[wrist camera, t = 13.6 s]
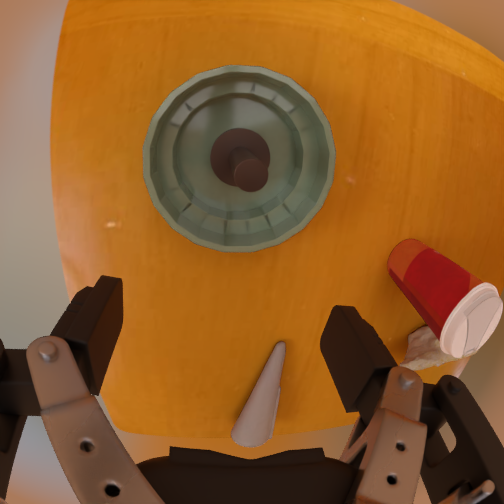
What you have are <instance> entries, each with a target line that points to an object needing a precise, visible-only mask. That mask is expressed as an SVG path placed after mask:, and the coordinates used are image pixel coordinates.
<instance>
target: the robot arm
mask: <svg viewBox="0 0 504 504" xmlns="http://www.w3.org/2000/svg"><path fill="white" fill-rule="evenodd" d="M122 324H123V283H122V279H121V278H116V277H110V276H104V275H102V276H101V277H100V278H99V280H98V281H97V283H96V284H95V286H94V287H88V286H87V287H85V288H84V289H82V290H81V291H79V292H77V293H76V295H75V296H74V298H73V299H72V301H71V303H70V304H69V305H68V307H67V309H66V311H65V312H64V313H63V315H62V316H61V318H60V319H59V321H58V323H57V324H56V326H55V328H54V329H53V331H52V332H51V334H50V336H43V337H40V338H38V339H36V340H34V341H33V342H32V343H31V344H30V345H29V346H28V348H27V349H5V348H4V345H3V342H2V340H1V339H0V504H7V502H6V501H5V498H6V493H7V488H8V484H9V479H10V475H11V471H12V466H13V463H14V459H15V455H16V452H17V448H18V444H19V441H20V438H21V435H22V431H23V428H24V425H25V422H26V419H27V416H41V417H42V420H43V423H44V426H45V429H46V431H47V434H48V436H49V439H50V441H51V444H52V446H53V448H54V451H55V453H56V456H57V458H58V460H59V462H60V464H61V467H62V469H63V471H64V473H65V475H66V477H67V479H68V481H69V483H70V485H71V487H72V489H73V491H74V493H75V494H76V496H77V498H78V500H79V502H80V503H81V504H413V501H414V497H415V493H416V489H417V484H418V480H419V475H421V477H422V480H423V482H424V485H425V487H426V490H427V493H428V495H429V498H430V501H431V503H432V504H504V448H503V446H502V444H501V442H500V440H499V438H498V437H497V435H496V433H495V432H494V430H493V428H492V427H491V425H490V423H489V422H488V420H487V418H486V417H485V415H484V413H483V412H482V410H481V409H480V407H479V406H478V404H477V402H476V401H475V399H474V398H473V396H472V395H471V393H470V392H469V390H468V389H467V387H466V386H465V384H464V383H463V382H462V381H461V380H459V379H458V378H456V377H454V376H452V375H444V376H442V377H441V378H440V380H439V381H438V383H437V384H436V385H434V384H427V383H423V382H422V379H421V378H420V376H419V375H418V374H417V373H416V372H414V371H413V370H411V369H409V368H407V367H403V366H398V365H397V363H396V362H395V360H394V359H393V357H392V355H391V354H390V352H389V351H388V349H387V348H386V346H385V345H384V344H383V342H382V340H381V339H380V337H378V334H377V333H376V331H375V330H374V328H373V327H372V326H371V325H370V324H369V323H367V322H366V321H365V320H364V319H362V318H361V316H360V315H359V313H358V312H357V310H356V309H355V307H353V306H340V305H336V306H334V307H333V309H332V311H331V314H330V316H329V319H328V321H327V324H326V326H325V328H324V331H323V333H322V336H321V340H320V349H321V352H322V354H323V357H324V359H325V362H326V364H327V366H328V369H329V371H330V374H331V376H332V378H333V381H334V383H335V386H336V388H337V390H338V393H339V395H340V398H341V400H342V403H343V405H344V408H345V410H346V413H349V412H358V411H359V413H360V416H359V417H358V418H357V420H356V422H355V425H354V427H353V430H352V432H351V434H350V437H349V439H348V442H347V444H346V446H345V448H344V451H343V453H342V455H341V457H340V459H339V460H337V459H333V458H328V457H325V455H324V451H323V448H312V449H301V450H288V451H284V452H281V453H277V454H273V455H270V456H266V457H262V458H258V459H244V458H240V457H235V456H231V455H227V454H223V453H219V452H215V451H211V450H201V449H190V448H180V447H171V446H170V453H169V456H163V457H157V458H152V459H149V460H146V461H143V462H141V463H139V464H135V463H134V461H133V460H132V459H131V457H130V455H129V454H128V452H127V451H126V449H125V448H124V446H123V444H122V443H121V441H120V440H119V438H118V436H117V435H116V433H115V431H114V430H113V428H112V426H111V425H110V423H109V421H108V420H107V418H106V416H105V414H104V412H103V410H102V408H101V407H100V405H99V403H98V401H97V399H96V398H95V396H94V395H97V396H99V393H100V389H101V386H102V383H103V380H104V377H105V374H106V371H107V368H108V365H109V362H110V359H111V356H112V354H113V351H114V348H115V345H116V342H117V340H118V337H119V334H120V332H121V328H122ZM91 394H92V395H91ZM446 422H448V424H449V426H450V427H451V429H452V431H453V433H454V435H455V437H456V446H455V448H454V450H453V451H452V452H451V453H449V451H448V449H447V447H446V445H445V443H444V440H443V438H442V436H441V434H440V432H439V429H440V428H441V427H442V426H443V425H444V424H445V423H446Z"/></svg>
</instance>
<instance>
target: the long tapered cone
mask: <svg viewBox="0 0 504 504" xmlns="http://www.w3.org/2000/svg"><path fill="white" fill-rule="evenodd" d="M285 352H286V348H285V343H284V342H282V341H281V342H279V343H277V345H276V346H275V348H274V350H273V352H272V354H271V356H270V358H269V359H268V361H267V363H266V365H265V367H264V369H263V371H262V373H261V375H260V377H259V379H258V381H257V383H256V385H255V387H254V389H253V391H252V393H251V395H250V397H249V399H248V401H247V403H246V405H245V406H244V408H243V410H242V412H241V414H240V416H239V418H238V419H237V421H236V423H235V425H234V427H233V429H232V431H231V437H232V439H233V440H234V441H235V442H236V443H237V444H239V445H241V446H244V447H257V446H260V445H262V444H264V443H265V442H266V441H267V440H268V439H271V438H272V434H273V429H274V424H275V418H276V413H277V407H278V402H279V396H280V390H281V387H280V379H281V374H282V368H283V362H284V358H285Z"/></svg>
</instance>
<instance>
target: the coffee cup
mask: <svg viewBox="0 0 504 504" xmlns="http://www.w3.org/2000/svg"><path fill="white" fill-rule="evenodd" d="M387 267H388V272H389V274H390V276H391V278H392V279H393V280H394V282H395V283H396V284H397V286H398V287H399V288H400V289H401V291H402V292H403V293H404V295H405V296H406V297H407V298H408V300H409V301H410V302H411V304H412V305H413V306H414V308H415V309H416V310H417V312H418V313H419V314H420V315H421V317H422V318H423V319H424V321H425V322H426V323H427V325H428V326H429V328H430V329H431V330H432V332H433V333H434V334H435V336H436V337H437V339H438V340H439V341H440V342H439V343H440V348H441V350H442V351H443V352H444V353H446V354H450V355H452V356H453V357H455V358H461V357H462V355H464V356H466V355H468V354H470V353H472V352H473V350H478V349H479V348H480V347H481V346H482V345H483V344H484V343H485V342H486V341H487V340H488V338H489V337H490V336H491V334H492V333H493V331H494V330H495V328H496V326H497V324H498V322H499V320H500V317H501V314H502V309H503V304H502V300H501V299H500V297H499V295H498V291H497V289H496V287H495V286H494V285H492V284H489V283H487V282H485V283H484V282H482V281H481V280H479V279H478V278H477V277H475V276H474V275H472V274H471V273H469V272H468V271H466V270H465V269H463V268H462V267H460V266H459V265H457V264H456V263H454V262H453V261H451V260H450V259H448V258H446V257H445V256H443V255H442V254H440V253H438V252H437V251H435V250H434V249H432V248H430V247H429V246H427V245H425V244H423V243H422V242H420V241H418V240H415V239H407V240H404V241H402V242H401V243H399V244H398V245H397V246H396V247H395V248H394V249H393V251H392V252H391V254H390V256H389V259H388V265H387Z"/></svg>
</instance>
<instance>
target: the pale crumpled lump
mask: <svg viewBox="0 0 504 504" xmlns="http://www.w3.org/2000/svg"><path fill="white" fill-rule="evenodd" d="M439 342H440V341H439V340H438V339H437V337H436V336H435V334H434V333H433V332H432V330H431V329H430V328H429V326H426V327H422V328H420V329H418V330H416V331H415V332H414V333H412V334H409V336H408V344H409V346H408V349H407V352H406V353H407V354H406V356H405V359H404V361H403V362H402V363H401V364H400V366H403V367H407V368H409V369H411V370H413V371H414V370H422V369H425V368H428V367H431V366H435V365H437V366H439V365H442V364H444V363H445V362H449V361H456V360H459V359H461V358H464V357H467V356H470V355H473V354H475V353H477V352H478V350H479V349H478V350H473V352H472V353H470V354H468V355H466V356H464V355H462V357H461V358H455V357H453V356H452V355H450V354H446V353H444V352H443V351H442V350H441V348H440V343H439ZM441 363H442V364H441Z"/></svg>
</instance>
